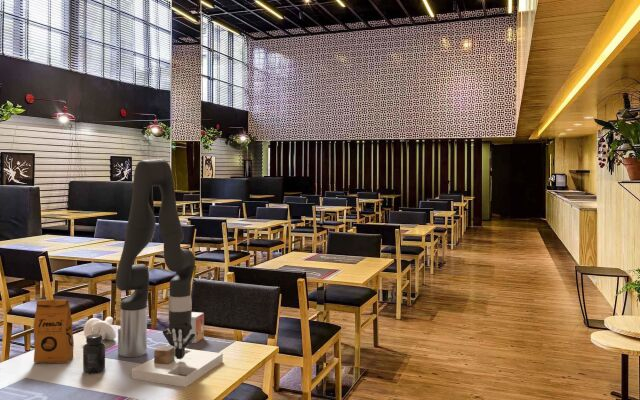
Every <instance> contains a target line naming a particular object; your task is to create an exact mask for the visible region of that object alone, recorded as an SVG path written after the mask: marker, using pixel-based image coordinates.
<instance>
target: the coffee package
mask: <svg viewBox="0 0 640 400" xmlns="http://www.w3.org/2000/svg"><path fill="white" fill-rule="evenodd" d="M35 304H36V306H35V313H34V315H35V316H34V321H33V341H34V342H33V346H34V353H33V363H39V364H40V363H46V364H47V363H48V364H60V363H61V364H67V363H68V362H70V361H71V360H73V359H74V350H75V349H74V347H75V345H74V343H75V342H74V332H73V318H72V314H71V313H72V312H71V306H70V302H69V299H36V303H35Z"/></svg>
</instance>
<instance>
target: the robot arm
mask: <svg viewBox="0 0 640 400" xmlns="http://www.w3.org/2000/svg"><path fill="white" fill-rule="evenodd" d="M152 187H158V188H159V191H160V194H161V201H160V208H159V213H158V218H157V220H158V226H159V231H160V234H161V237H162V241H163V259H164V264H165V265H166V267H167V269H168V270H169V271H171V272H174V273H175V275H174V276H173V277H172V278H171V279H170V281H169V299H168V323H169V324H168V327H167V328H166V329H164V330H162V334H163V336H164V337H165V339H166V341H167V343H168V344H169V346H172V347H175V356H176V358H177V359H182V358H183V357H184V356H185V348H187V347H189V346H191V344H193V343H192V342H193V340H194V339H195V338H196V336H197V335H198V333H197V332H194V331H193V330H192V326H191V320H192V312H193V310H192V303H193V301H192V279H193V277H194V276H193V275H194V272H195V266H196V258H195V254H194V253H193V251H192V250H190V249H188V248H183V249H182V246H181V242H183V240H184V239H185V234H184V231H183V228H182V223H181V221H180V216H179V214H178V208H177V200H176V192H175V185H174V177H173V172H172V168H171V166H170V164H169V162H168V161H167V160H166V159H162V158H159V159H158V158H156V159H143V160H140V161H138V162H137V164H136V166H135V169H134V173H133V184H132V196H131V203H130V211H129V215H128V220H127V224H126V231H125V237H124V244H123V246H122V253H121V256H120V259H119V262H118V265H117V269H116V274H115V285H116V287H117V290H119V291H123V292H126V291H133V292H132V293H131V294H130V295H129V296H127V297H124V298H123V299H122V300H121V301H120V322H119V324H120V327H119V328H118V329H117V354H118V355H120V356H121V357H123V358H137V357H141V356H143V355H145V354H147V349H148V348H147V347H148V346H147V342H148V340H147V339H148V337H147V336H148V335H147V334H148V333H147V331H148V330H147V329H148V317H147V316H148V315H147V314H148V312H147V311H148V310H147V309H148V299H149V287H150V286H149V285H150V272H149V269H148V267H147V265H146V264H145V263H138V264H134V262H135V260H136V259H137V257H138V256H139V254H141V252H143V250H145V248H146V247H147V246H148V245H149V244H150V243H151V241H152V239H153V236H154V232H155V227H156V217H155V216H156V215H155V214H154V211H153V209H152V206H151V205H150V200H149V198H150V192H151V188H152ZM189 333H190V334H189ZM188 334H189V338H188V339H187V336H188ZM186 340H187V341H186Z"/></svg>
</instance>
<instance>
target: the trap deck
mask: <svg viewBox="0 0 640 400" xmlns="http://www.w3.org/2000/svg"><path fill="white" fill-rule="evenodd" d="M222 363H223V353H222V352H213V351H208V350H198V349H193V348H192V349H191V348H187V347H185V356H184V357H183V358H182V359H177V358H176V356H175V355H174V360H173V361H172V362H171V363H169V364H155V363H154V357H153V358H152V359H150V360H147V361H146V362H143V363H142V364H139V365H138V366H135V367H134V368H132V369H131V379H133V380H140V381H146V382H152V383H157V384H163V385H168V386H169V385H171V386H177V387H184V388H186V387H189V385H190V384H192V383H194V382H195V381H197V380H198V379H200V378H201V377H203V376H204V375H205V374H206V373H208V372H210V371H211V370H213V369H214V368H216V367H217V366H219V365H221V364H222Z"/></svg>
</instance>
